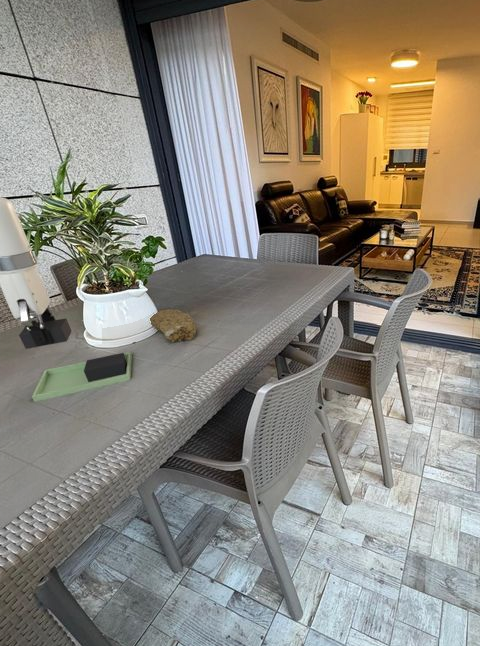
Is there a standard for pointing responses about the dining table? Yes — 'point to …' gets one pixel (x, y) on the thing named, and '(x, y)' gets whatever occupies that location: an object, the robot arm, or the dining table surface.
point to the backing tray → (73, 380)
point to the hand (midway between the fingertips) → (48, 337)
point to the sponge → (174, 324)
